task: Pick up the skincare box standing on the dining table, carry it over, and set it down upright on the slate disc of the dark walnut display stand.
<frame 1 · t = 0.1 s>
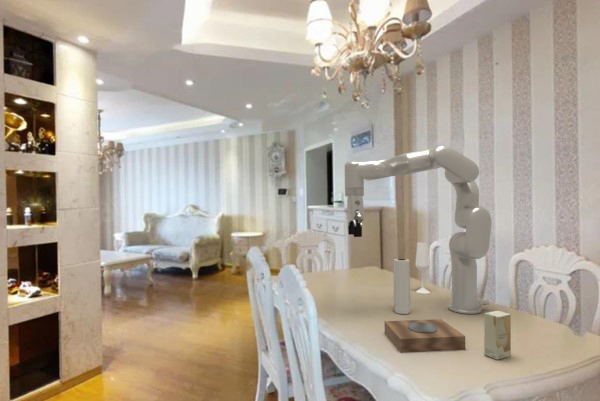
hand: (354, 235, 147), 31 cm above the table, tool pointing down, fingers open, 9 cm apart
walnut stand: (422, 340, 119), on the table
champagne flute: (422, 292, 180), on the table
paper towel roll: (402, 312, 149), on the table
skincare box: (497, 356, 107), on the table
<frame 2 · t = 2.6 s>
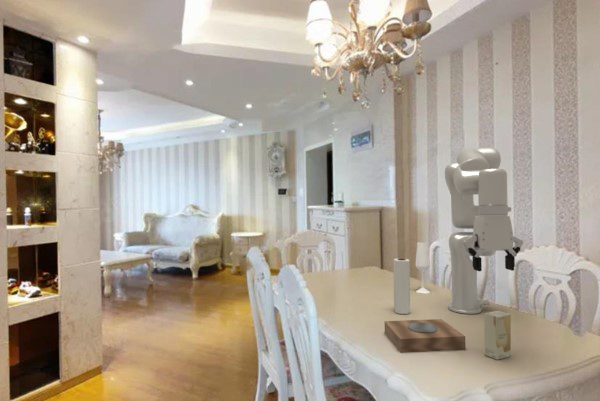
hand: (493, 270, 107), 25 cm above the table, tool pointing down, fingers open, 9 cm apart
nothing on the table moved.
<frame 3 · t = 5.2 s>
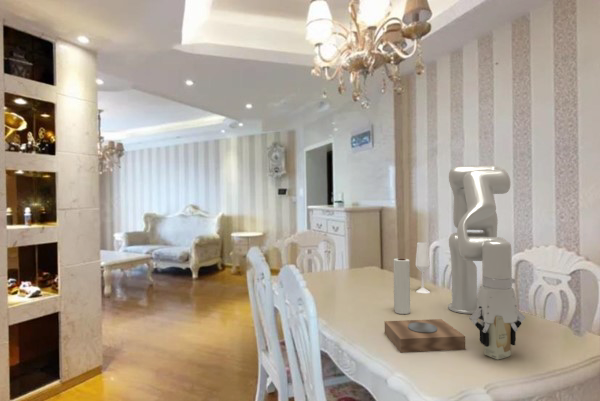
hand: (497, 343, 107), 3 cm above the table, tool pointing down, fingers closed on skincare box, 7 cm apart
skincare box: (497, 356, 107), on the table, touching gripper
everything else where it was.
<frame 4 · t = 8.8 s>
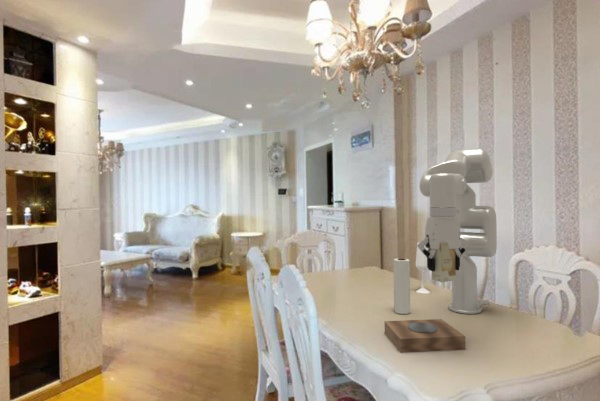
hand: (443, 269, 115), 24 cm above the table, tool pointing down, fingers closed on skincare box, 7 cm apart
skincare box: (444, 281, 115), point 20 cm above the table, touching gripper
everything else where it was.
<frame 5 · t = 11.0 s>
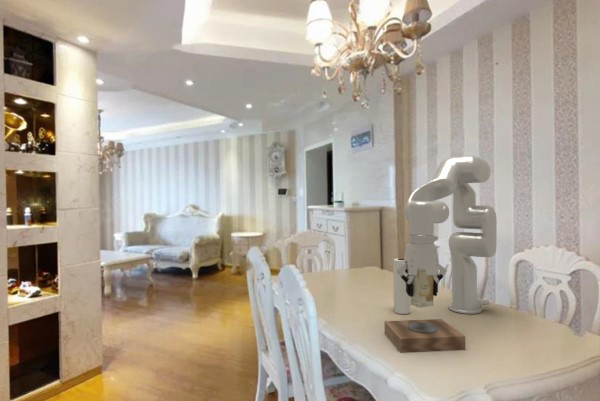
hand: (421, 294, 119), 15 cm above the table, tool pointing down, fingers closed on skincare box, 7 cm apart
skincare box: (422, 306, 119), point 11 cm above the table, touching gripper
everything else where it was.
when the fingers open (9 cm above the table, at t = 12.6 s): skincare box drops 1 cm, resting on walnut stand.
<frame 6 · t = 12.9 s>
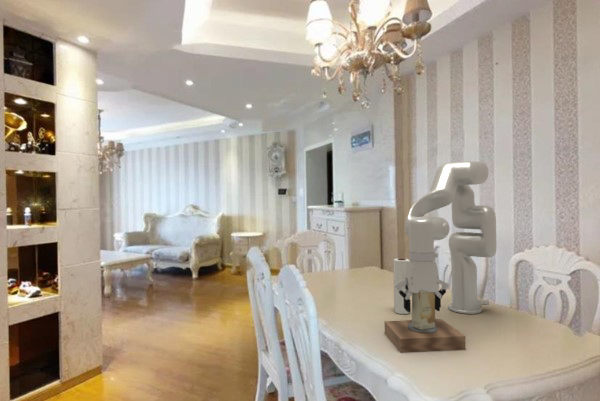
hand: (422, 310, 119), 10 cm above the table, tool pointing down, fingers open, 9 cm apart
skincare box: (423, 327, 119), point 4 cm above the table, touching walnut stand
everything else where it was.
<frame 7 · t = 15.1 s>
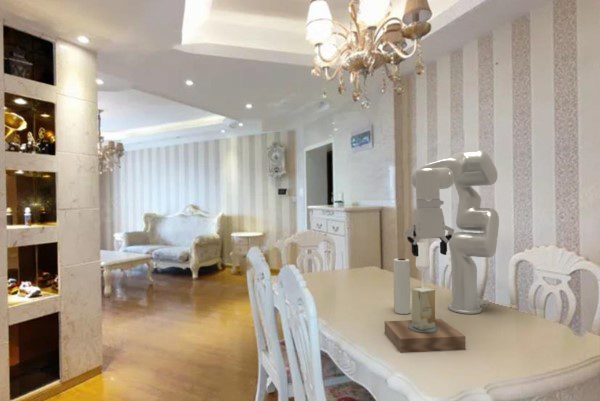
hand: (429, 255, 125), 26 cm above the table, tool pointing down, fingers open, 9 cm apart
nothing on the table moved.
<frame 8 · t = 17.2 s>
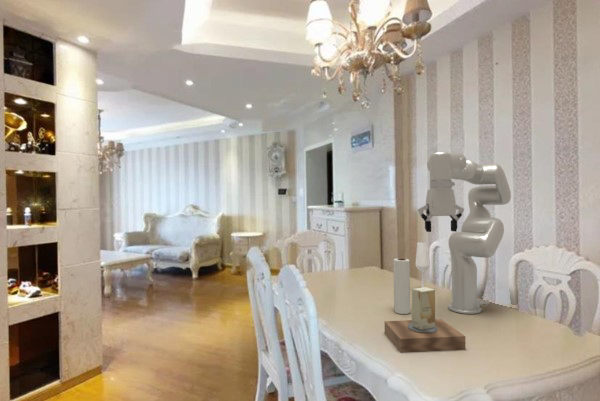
hand: (441, 231, 138), 33 cm above the table, tool pointing down, fingers open, 9 cm apart
nothing on the table moved.
at the end: skincare box inside the target area on the walnut stand (0.5 cm from its centre), point 4.2 cm above the walnut stand's base; skincare box tilted 0°; the gripper is holding nothing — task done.
